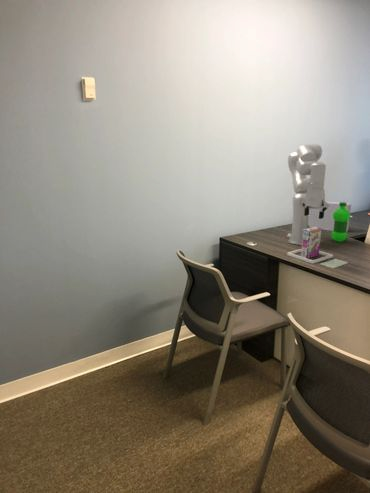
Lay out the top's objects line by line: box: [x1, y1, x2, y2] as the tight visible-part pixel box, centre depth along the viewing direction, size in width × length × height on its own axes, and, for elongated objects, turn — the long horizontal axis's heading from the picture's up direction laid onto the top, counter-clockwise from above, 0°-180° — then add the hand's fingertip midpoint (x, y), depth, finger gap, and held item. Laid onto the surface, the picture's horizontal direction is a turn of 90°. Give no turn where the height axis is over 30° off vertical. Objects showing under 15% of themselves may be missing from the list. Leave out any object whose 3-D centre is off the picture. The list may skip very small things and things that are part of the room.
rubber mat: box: [319, 258, 349, 270], centre depth 206 cm, size 8×14×1 cm, turn 125°
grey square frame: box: [286, 248, 334, 264], centre depth 219 cm, size 18×18×2 cm
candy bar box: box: [299, 227, 323, 259], centre depth 217 cm, size 11×5×16 cm, turn 126°
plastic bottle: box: [331, 201, 351, 243], centre depth 245 cm, size 10×10×25 cm
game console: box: [308, 200, 352, 233], centre depth 273 cm, size 6×27×20 cm, turn 58°
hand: (313, 216), depth 212 cm, fingers open, 9 cm apart
